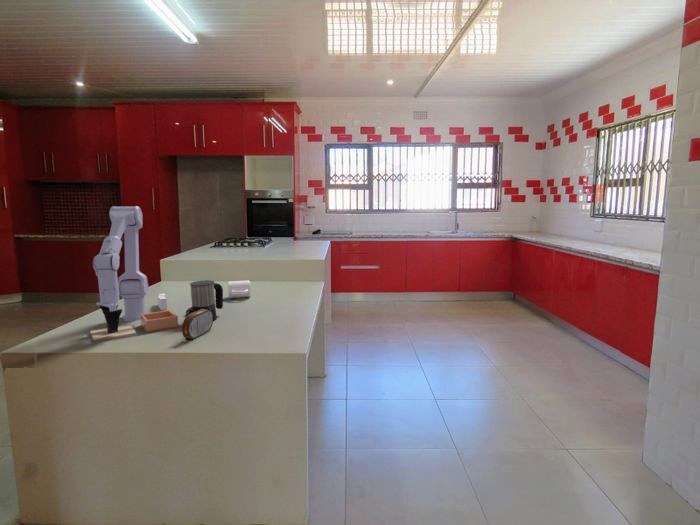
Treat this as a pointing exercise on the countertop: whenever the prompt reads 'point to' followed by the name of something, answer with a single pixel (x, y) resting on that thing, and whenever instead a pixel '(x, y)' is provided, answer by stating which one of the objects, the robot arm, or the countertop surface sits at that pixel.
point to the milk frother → (206, 297)
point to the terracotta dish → (159, 321)
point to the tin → (197, 323)
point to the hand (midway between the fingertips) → (112, 327)
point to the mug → (239, 289)
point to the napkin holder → (162, 301)
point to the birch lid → (112, 333)
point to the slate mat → (111, 339)
